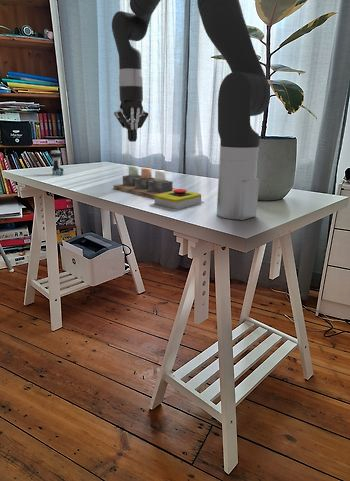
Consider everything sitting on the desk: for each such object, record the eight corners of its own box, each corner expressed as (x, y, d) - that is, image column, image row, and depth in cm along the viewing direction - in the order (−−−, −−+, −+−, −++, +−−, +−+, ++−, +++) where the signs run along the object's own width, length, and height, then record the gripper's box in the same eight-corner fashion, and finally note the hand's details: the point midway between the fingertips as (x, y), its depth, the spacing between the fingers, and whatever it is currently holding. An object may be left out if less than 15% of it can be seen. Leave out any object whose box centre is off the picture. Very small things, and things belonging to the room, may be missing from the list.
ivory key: (167, 183, 110) (167, 171, 109) (160, 184, 108) (159, 172, 107) (160, 182, 112) (160, 169, 111) (152, 183, 110) (152, 170, 109)
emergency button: (206, 189, 100) (170, 197, 90) (205, 203, 101) (170, 213, 91) (183, 185, 106) (147, 191, 96) (182, 198, 107) (147, 207, 97)
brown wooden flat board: (181, 193, 113) (182, 180, 111) (154, 198, 105) (154, 185, 103) (140, 184, 127) (139, 173, 126) (113, 188, 119) (112, 176, 118)
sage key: (140, 178, 120) (140, 166, 118) (132, 179, 117) (132, 167, 116) (134, 176, 122) (134, 165, 120) (127, 177, 120) (126, 166, 118)
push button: (69, 174, 147) (66, 150, 144) (59, 176, 143) (56, 151, 140) (58, 173, 151) (56, 150, 147) (48, 174, 146) (46, 150, 143)
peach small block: (153, 180, 115) (153, 168, 113) (145, 181, 113) (145, 169, 111) (147, 179, 117) (146, 167, 116) (139, 180, 115) (139, 168, 114)
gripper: (120, 83, 103) (123, 142, 108) (154, 86, 111) (154, 141, 117) (107, 84, 108) (109, 141, 114) (139, 87, 116) (140, 140, 122)
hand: (132, 141), depth 115 cm, fingers closed
